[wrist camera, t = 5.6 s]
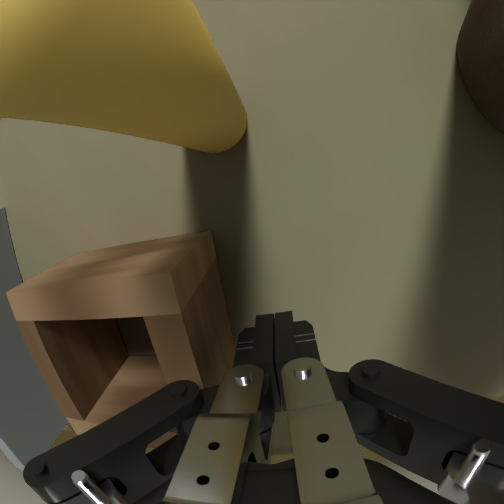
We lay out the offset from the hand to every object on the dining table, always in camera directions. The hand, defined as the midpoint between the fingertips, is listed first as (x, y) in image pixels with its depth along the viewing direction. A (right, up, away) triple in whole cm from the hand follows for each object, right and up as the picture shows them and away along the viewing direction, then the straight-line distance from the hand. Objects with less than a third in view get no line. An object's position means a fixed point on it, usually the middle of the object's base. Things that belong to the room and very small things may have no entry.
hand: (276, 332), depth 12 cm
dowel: (-3, +9, 0) cm, 10 cm away
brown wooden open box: (-6, 0, +3) cm, 7 cm away
